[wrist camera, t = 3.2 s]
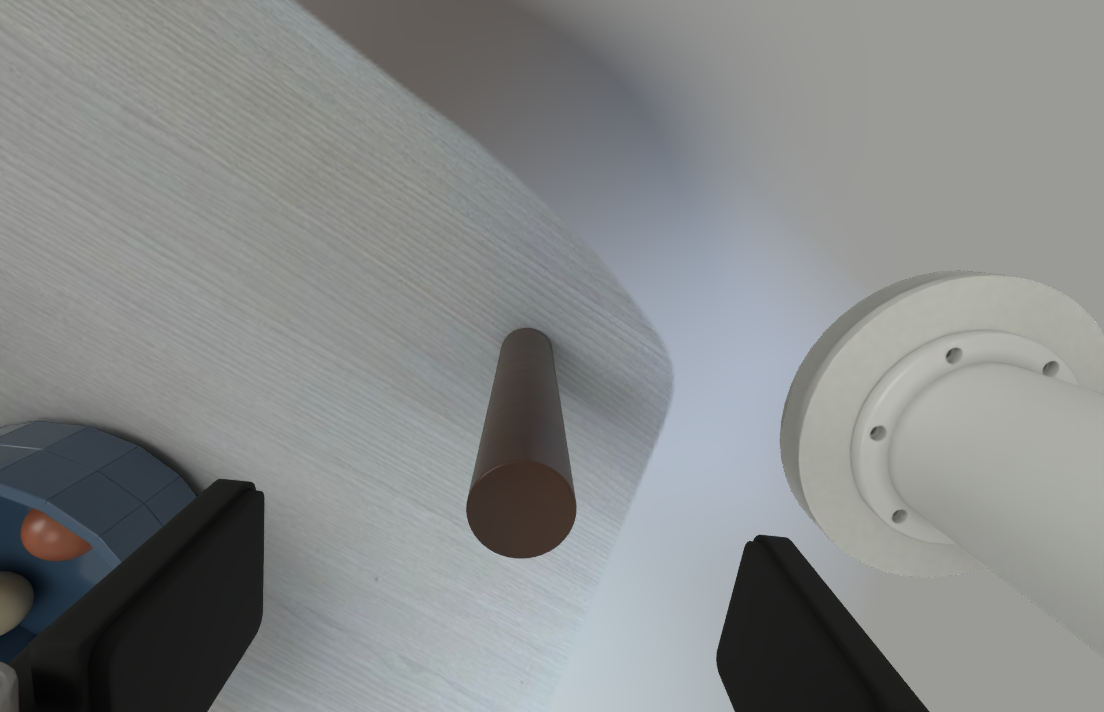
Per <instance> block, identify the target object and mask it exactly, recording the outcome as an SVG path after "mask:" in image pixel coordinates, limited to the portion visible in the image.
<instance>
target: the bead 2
mask: <svg viewBox="0 0 1104 712" xmlns="http://www.w3.org/2000/svg"><path fill="white" fill-rule="evenodd" d="M21 541H22V543H23V545H24V547H25V549H26V550H27V551H28V552H29V553H30V554H32V555H33V556H35V557H37V558H39V559H42V560H47V561H65V560H70V559H74V558H77V557H79V556H81V555H83V554H85V553H87V552H89V551H90V550H92V549H93V547H92V546H91V545H90V544H89V543H88V542H86V541H85V540H83V539H82V538H80V537H79V536H77V535H76V534H74V533H73V532H71V531H70V530H68V529H67V528H65V527H64V526H62V525H61V524H59V523H58V522H56V521H55V520H53V519H52V518H51V517H49V516H48V515H46V514H45V513H43V512H42V511H39V510H37V509H34V508H33V509H32V510H30V512H29V513H28V514H27V516H26V517H25V519H24V521H23V523H22V526H21Z"/></svg>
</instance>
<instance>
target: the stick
mask: <svg viewBox="0 0 1104 712" xmlns="http://www.w3.org/2000/svg"><path fill="white" fill-rule="evenodd" d="M466 512H467V519H468V523H469V525H470V528H471V530H472V531H473V533H474V535H475V536H476V537H477V539H478V540H479V541H480V542H481V543H482V544H483V545H484V546H485V547H487V548H488V549H490V550H491V551H493V552H495V553H497V554H500V555H502V556H506V557H511V558H531V557H536V556H539V555H542V554H545V553H547V552H549V551H551V550H552V549H554V548H555V547H557V546H558V545H559V544H560V543H561V542H562V541H563V540H564V539H565V538H566V537H567V535H568V534H569V532H570V531H571V529H572V527H573V524H574V521H575V517H576V499H575V492H574V486H573V479H572V473H571V466H570V460H569V454H568V447H567V441H566V434H565V428H564V421H563V415H562V408H561V402H560V395H559V389H558V383H557V376H556V370H555V363H554V357H553V350H552V346H551V343H550V341H549V340H548V338H547V337H546V336H545V335H544V334H543V333H541V332H540V331H538V330H535V329H532V328H522V329H518V330H515V331H513V332H512V333H510V334H509V335H508V336H507V337H506V339H505V340H504V342H503V344H502V347H501V351H500V356H499V360H498V365H497V369H496V374H495V378H494V383H493V387H492V392H491V396H490V401H489V405H488V410H487V414H486V419H485V423H484V427H483V432H482V436H481V441H480V445H479V450H478V454H477V459H476V463H475V468H474V472H473V477H472V481H471V486H470V490H469V495H468V500H467V508H466Z"/></svg>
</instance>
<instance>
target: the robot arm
mask: <svg viewBox="0 0 1104 712" xmlns="http://www.w3.org/2000/svg"><path fill="white" fill-rule="evenodd" d="M851 469H852V473H853V476H854V480H855V483H856V487H857V489H858V491H859V492H860V494H861V496H862V498H863V500H864V502H865V503H866V504H867V505H868V506H869V507H870V509H871V510H872V511H873V512H874V513H875V514H876V515H877V516H878V517H879V518H880V519H881V520H883V521H884V522H885V523H886V524H887V525H888V526H890V527H891V528H892V529H894V530H896V531H898V532H900V533H901V534H903V535H905V536H907V537H909V538H912V539H916V540H919V541H922V542H925V543H933V544H942V545H951V544H958V545H959V546H960V547H962V548H963V549H964V550H966V551H967V552H968V553H969V554H971V555H972V556H973V557H975V558H976V559H977V560H978V561H980V562H981V563H982V564H984V565H985V566H986V567H988V568H989V569H990V570H991V571H993V572H994V573H995V574H996V575H998V576H999V577H1000V578H1002V579H1003V580H1004V581H1005V582H1007V583H1008V584H1009V585H1011V586H1012V587H1013V588H1014V589H1016V590H1017V591H1018V592H1020V593H1021V594H1022V595H1024V596H1025V597H1026V598H1027V599H1029V600H1030V601H1031V602H1032V603H1034V604H1035V605H1036V606H1038V607H1039V608H1040V609H1041V610H1043V611H1044V612H1045V613H1047V614H1048V615H1049V616H1050V617H1052V618H1053V619H1054V620H1056V621H1057V622H1058V623H1060V624H1061V625H1062V626H1063V627H1065V628H1066V629H1067V630H1068V631H1070V632H1071V633H1072V634H1074V635H1075V636H1076V637H1077V638H1079V639H1080V640H1081V641H1083V642H1084V643H1085V644H1086V645H1088V646H1089V647H1090V648H1092V649H1093V650H1094V651H1095V652H1097V653H1098V654H1099V655H1101V656H1102V657H1103V658H1104V394H1103V393H1100V392H1097V391H1094V390H1091V389H1088V388H1084V387H1081V386H1079V384H1078V381H1077V379H1076V376H1075V375H1074V373H1073V372H1072V370H1071V369H1070V368H1069V366H1068V365H1067V363H1066V362H1065V361H1064V360H1063V359H1062V358H1061V357H1060V356H1059V355H1057V354H1056V353H1055V352H1054V351H1053V350H1051V349H1050V348H1049V347H1047V346H1045V345H1043V344H1041V343H1039V342H1037V341H1035V340H1033V339H1030V338H1026V337H1023V336H1019V335H1016V334H1012V333H1008V332H1001V331H994V330H975V331H964V332H960V333H956V334H952V335H948V336H944V337H941V338H939V339H937V340H934V341H932V342H930V343H927V344H925V345H923V346H921V347H920V348H918V349H917V350H915V351H913V352H912V353H910V354H909V355H907V356H906V357H904V358H903V359H902V360H900V361H899V362H898V363H897V364H896V365H895V366H894V367H893V368H891V369H890V370H889V371H888V372H887V373H886V374H885V375H884V376H883V378H882V379H881V380H880V381H879V383H878V384H877V385H876V386H875V387H874V389H873V390H872V391H871V393H870V395H869V396H868V398H867V400H866V402H865V403H864V405H863V407H862V409H861V410H860V413H859V416H858V419H857V422H856V425H855V427H854V430H853V437H852V444H851ZM263 565H264V494H263V492H262V491H256V488H255V485H254V483H252V482H247V481H237V480H227V479H218V480H216V481H215V482H214V483H212V484H211V485H210V486H209V487H208V488H207V489H206V490H204V491H203V492H202V493H201V494H200V495H199V496H197V497H196V498H195V499H194V500H193V501H192V502H191V503H189V504H188V505H187V506H186V507H185V508H184V509H182V510H181V511H180V512H179V513H178V514H177V515H176V516H174V517H173V518H172V519H171V520H170V521H169V522H168V523H166V524H165V525H164V526H163V527H162V528H161V529H159V530H158V531H157V532H156V533H155V534H154V535H153V536H151V537H150V538H149V539H148V540H147V541H146V542H145V543H143V544H142V545H141V546H140V547H139V548H138V549H136V550H135V551H134V552H133V553H132V554H131V555H130V556H128V557H127V558H126V559H125V560H124V561H123V562H122V563H120V564H119V565H118V566H117V567H116V568H115V569H113V570H112V571H111V572H110V573H109V574H108V575H107V576H105V577H104V578H103V579H102V580H101V581H100V582H99V583H97V584H96V585H95V586H94V587H93V588H92V589H90V590H89V591H88V592H87V593H86V594H85V595H84V596H82V597H81V598H80V599H79V600H78V601H77V602H76V603H74V604H73V605H72V606H71V607H70V608H69V609H67V610H66V611H65V612H64V613H63V614H62V615H61V616H59V617H58V618H57V619H56V620H55V621H54V622H52V623H51V624H50V625H49V626H48V627H47V628H46V629H44V630H43V631H42V632H41V633H40V634H39V635H38V636H36V637H35V638H34V639H33V640H32V641H31V642H29V643H28V646H27V647H26V648H25V649H23V650H22V651H21V652H20V653H19V654H18V655H16V656H15V657H14V658H13V659H12V660H11V661H10V662H8V663H7V664H5V663H3V662H0V712H207V711H208V710H209V708H210V707H211V705H212V703H213V702H214V700H215V699H216V697H217V695H218V694H219V692H220V691H221V689H222V688H223V686H224V684H225V683H226V681H227V680H228V678H229V677H230V675H231V673H232V672H233V670H234V669H235V667H236V666H237V664H238V662H239V661H240V659H241V658H242V656H243V655H244V653H245V651H246V650H247V648H248V647H249V645H250V644H251V642H252V640H253V639H254V637H255V636H256V634H257V632H258V629H259V627H260V624H261V620H262V615H263ZM716 661H717V668H718V672H719V675H720V677H721V679H722V682H723V684H724V687H725V689H726V691H727V694H728V696H729V698H730V701H731V703H732V705H733V708H734V710H735V712H929V711H928V710H927V708H926V707H925V706H924V704H923V703H922V702H921V701H920V700H919V698H918V697H917V696H916V695H915V693H914V692H913V691H912V690H911V689H910V687H909V686H908V685H907V683H906V682H905V681H904V680H903V678H902V677H901V676H900V675H899V674H898V672H897V671H896V670H895V669H894V668H893V666H892V665H891V664H890V662H889V661H888V660H887V659H886V657H885V656H884V655H883V654H882V653H881V651H880V650H879V649H878V648H877V646H876V645H875V644H874V643H873V641H872V640H871V639H870V638H869V637H868V635H867V634H866V633H865V631H864V630H863V629H862V628H861V627H860V625H859V624H858V623H857V622H856V621H855V619H854V618H853V617H852V615H851V614H850V613H849V612H848V610H847V609H846V608H845V607H844V606H843V604H842V603H841V602H840V601H839V599H838V598H837V597H836V596H835V594H834V593H833V592H832V591H831V589H830V588H829V587H828V586H827V584H826V583H825V582H824V581H823V580H822V578H821V577H820V576H819V575H818V574H817V572H816V571H815V570H814V568H813V567H812V566H811V565H810V564H809V562H808V561H807V560H806V559H805V557H804V556H803V555H802V554H801V553H800V551H799V550H798V549H797V547H796V546H795V545H794V544H793V542H792V541H791V540H789V539H788V538H785V537H776V536H767V535H758V536H756V537H755V538H754V540H753V541H749V542H747V543H746V545H745V548H744V551H743V555H742V559H741V562H740V566H739V570H738V574H737V577H736V581H735V585H734V589H733V593H732V597H731V600H730V604H729V608H728V612H727V615H726V619H725V623H724V627H723V630H722V634H721V638H720V642H719V646H718V649H717V657H716Z"/></svg>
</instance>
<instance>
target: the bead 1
mask: <svg viewBox="0 0 1104 712" xmlns="http://www.w3.org/2000/svg"><path fill="white" fill-rule="evenodd" d="M33 601H34V590H33V587H32V585H31V583H30V582H29V581H28V580H27V579H26V578H25V577H23V576H21V575H19V574H17V573H14V572H8V571H0V636H1V635H3V634H5V633H7V632H9V631H10V630H12V629H13V628H15V627H16V626H17V625H18V624H20V623H21V622H22V621H23V620H24V618H25V617H26V616H27V615H28V613H29V612H30V610H31V608H32V605H33Z"/></svg>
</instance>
